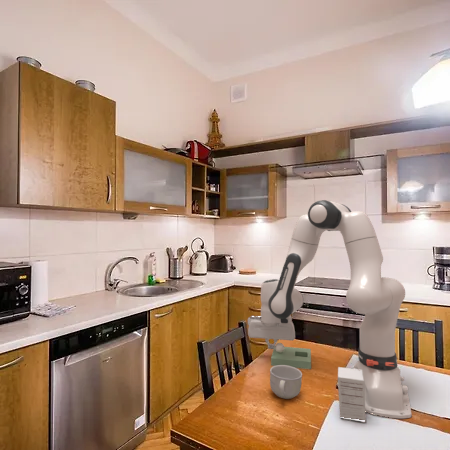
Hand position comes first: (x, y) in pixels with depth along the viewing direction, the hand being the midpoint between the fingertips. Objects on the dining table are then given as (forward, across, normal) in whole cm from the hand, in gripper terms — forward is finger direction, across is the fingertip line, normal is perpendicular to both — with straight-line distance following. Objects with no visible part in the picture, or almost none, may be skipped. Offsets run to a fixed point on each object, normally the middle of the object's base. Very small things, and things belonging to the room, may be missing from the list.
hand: (271, 348), depth 140 cm
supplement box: (+5, +28, -36) cm, 46 cm away
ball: (-1, +4, 0) cm, 4 cm away
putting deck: (+4, +8, 0) cm, 10 cm away
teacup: (+5, +7, -30) cm, 31 cm away
